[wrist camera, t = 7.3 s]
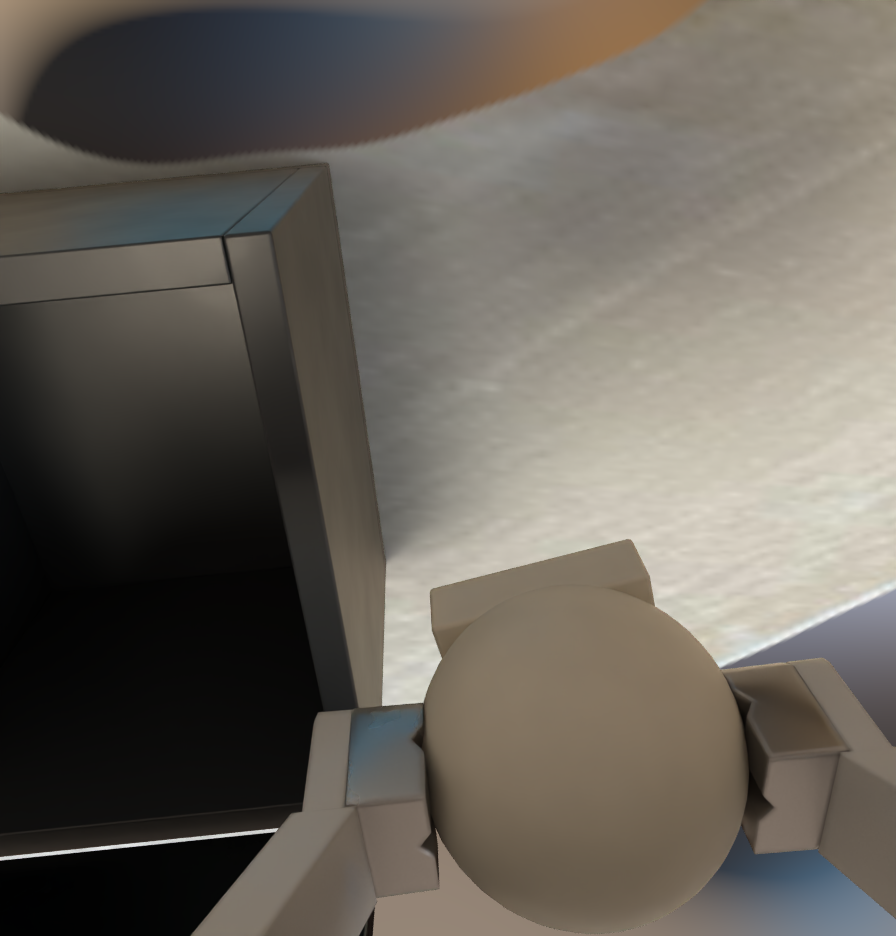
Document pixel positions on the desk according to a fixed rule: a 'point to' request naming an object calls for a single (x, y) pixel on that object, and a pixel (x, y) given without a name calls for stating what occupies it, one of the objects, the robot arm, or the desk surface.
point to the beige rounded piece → (580, 743)
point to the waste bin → (178, 506)
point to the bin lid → (125, 888)
